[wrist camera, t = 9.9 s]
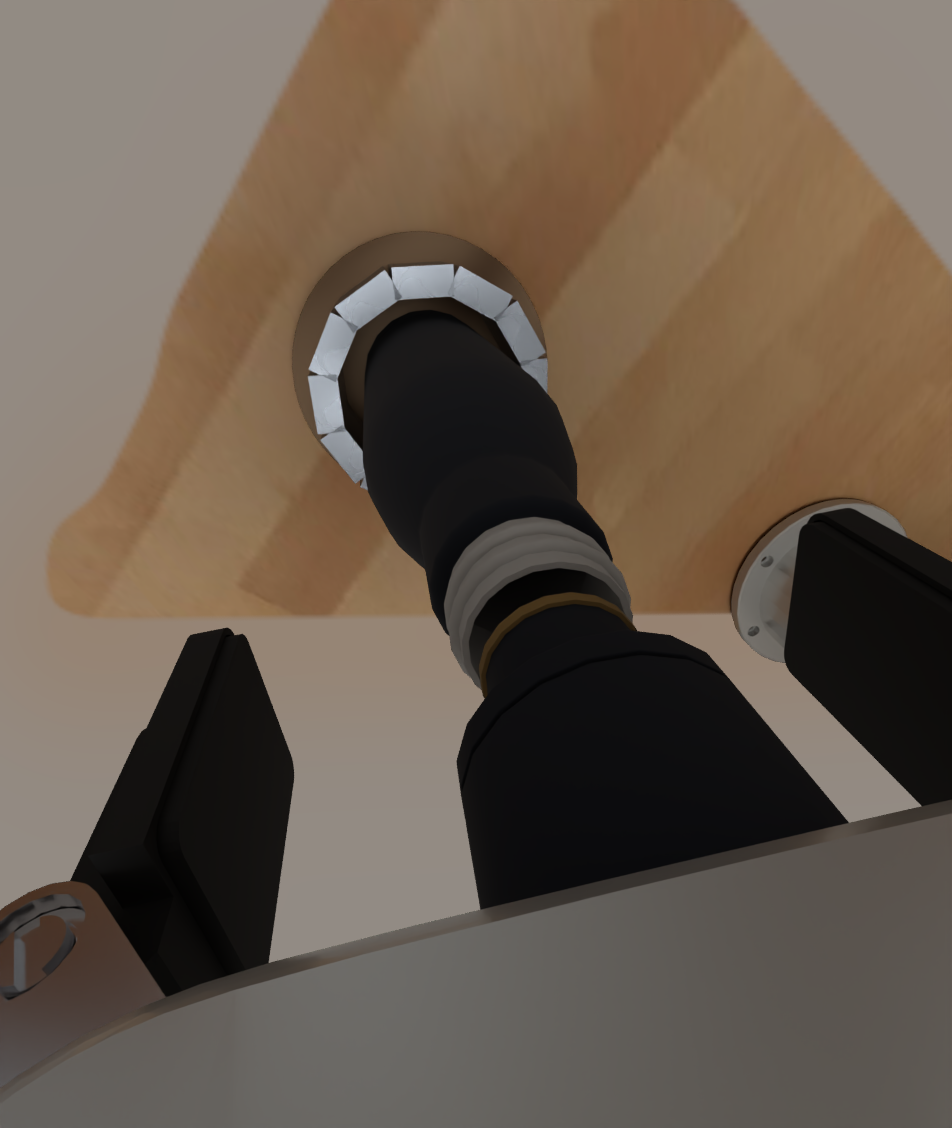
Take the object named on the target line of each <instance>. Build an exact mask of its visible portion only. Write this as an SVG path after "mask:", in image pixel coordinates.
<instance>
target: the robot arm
mask: <svg viewBox="0 0 952 1128" xmlns="http://www.w3.org/2000/svg"><path fill="white" fill-rule="evenodd" d="M731 607H732V617H733V621H734V624H735V627H736V629H737V631H738V632H739V634H740V636H741V637H742V639H743V640H744V641H745V642H746V643H747V644H748V645H749V646H750V647H751V648H752V649H753V650H755V651H756V652H757V653H758V654H760V655H761V656H763V657H765V658H768V659H770V660H773V661H777V662H783V663H786V666H787V668H788V669H789V671H790V672H791V674H792V675H793V676H794V677H795V678H796V679H797V680H798V681H799V682H800V683H801V684H802V685H803V686H804V687H805V688H806V689H807V690H808V691H809V692H810V693H811V694H812V695H813V696H814V697H815V698H816V699H817V700H818V701H819V702H820V703H821V704H822V705H823V706H824V707H825V708H826V709H827V710H828V711H829V712H830V713H831V714H832V715H833V716H834V717H835V718H836V719H837V720H838V721H839V722H840V724H841V725H842V726H843V727H844V728H845V729H846V730H847V731H848V732H849V733H850V734H851V735H852V736H853V737H854V738H855V739H856V740H857V741H858V742H859V743H860V744H862V746H863V747H864V748H865V749H866V750H867V751H868V752H869V753H870V754H871V755H872V756H873V757H874V758H875V759H876V760H877V761H878V762H879V763H880V764H881V765H882V766H883V767H884V768H885V769H886V770H887V771H888V772H889V773H890V774H891V775H892V776H893V777H894V778H895V779H896V780H897V781H898V782H899V783H900V784H901V785H902V786H903V787H904V788H905V789H906V790H907V791H908V792H909V793H910V794H911V795H912V796H913V797H914V798H915V800H916V801H917V802H919V803H920V804H921V807H917V808H913V809H908V810H904V811H900V812H895V813H891V814H886V815H882V816H878V817H873V818H869V819H864V820H860V821H856V822H851V823H847V824H842V825H838V826H834V827H829V828H825V829H821V830H816V831H812V832H808V833H804V834H799V835H795V836H791V837H786V838H782V839H778V840H773V841H769V842H765V843H761V844H756V845H752V846H748V847H743V848H739V849H735V850H731V851H726V852H722V853H718V854H713V855H709V856H705V857H701V858H696V859H692V860H688V861H684V862H679V863H675V864H671V865H667V866H662V867H658V868H654V869H650V870H645V871H641V872H637V873H632V874H628V875H624V876H620V877H615V878H611V879H607V880H603V881H599V882H594V883H590V884H586V885H582V886H578V887H574V888H569V889H565V890H561V891H557V892H553V893H549V894H544V895H540V896H536V897H532V898H528V899H523V900H519V901H515V902H511V903H507V904H503V905H498V906H494V907H490V908H486V909H482V910H478V911H473V912H469V913H465V914H461V915H457V916H453V917H449V918H444V919H440V920H436V921H432V922H428V923H424V924H419V925H415V926H411V927H407V928H403V929H399V930H395V931H391V932H388V933H383V934H380V935H376V936H372V937H368V938H364V939H361V940H356V941H353V942H348V943H345V944H341V945H337V946H333V947H329V948H325V949H321V950H317V951H314V952H310V953H306V954H302V955H298V956H294V957H290V958H286V959H283V960H279V961H275V962H271V963H269V955H270V948H271V941H272V934H273V927H274V919H275V912H276V904H277V898H278V891H279V883H280V876H281V869H282V861H283V855H284V847H285V840H286V833H287V826H288V819H289V811H290V804H291V797H292V790H293V783H294V767H293V761H292V757H291V754H290V751H289V749H288V746H287V743H286V741H285V738H284V735H283V733H282V730H281V727H280V725H279V722H278V719H277V717H276V714H275V711H274V709H273V706H272V704H271V701H270V698H269V695H268V693H267V690H266V687H265V685H264V682H263V679H262V677H261V674H260V671H259V669H258V666H257V663H256V661H255V658H254V655H253V653H252V650H251V648H250V645H249V642H248V640H247V638H246V637H245V635H243V634H240V635H234V633H233V632H232V631H231V629H229V628H223V629H218V630H213V631H208V632H203V633H197V634H193V635H190V636H189V638H188V639H187V641H186V643H185V645H184V648H183V650H182V652H181V654H180V656H179V659H178V661H177V663H176V665H175V667H174V669H173V672H172V674H171V676H170V678H169V680H168V682H167V685H166V687H165V689H164V691H163V693H162V695H161V698H160V700H159V702H158V704H157V706H156V709H155V711H154V713H153V715H152V717H151V719H150V722H149V724H148V726H147V728H146V729H144V730H143V731H142V732H141V733H140V735H139V736H138V738H137V739H136V741H135V744H134V746H133V748H132V750H131V752H130V754H129V756H128V758H127V761H126V763H125V765H124V767H123V769H122V772H121V774H120V776H119V778H118V780H117V782H116V784H115V786H114V789H113V790H112V793H111V795H110V797H109V799H108V801H107V803H106V805H105V808H104V810H103V812H102V814H101V816H100V818H99V821H98V822H97V825H96V827H95V829H94V831H93V833H92V835H91V837H90V840H89V842H88V844H87V846H86V848H85V850H84V852H83V855H82V857H81V859H80V861H79V863H78V865H77V867H76V869H75V872H74V874H73V876H72V878H71V880H70V881H66V882H59V883H53V884H49V885H46V886H44V887H41V888H39V889H36V890H33V891H31V892H28V893H27V894H25V895H23V896H22V897H20V898H18V899H17V900H15V901H13V902H11V903H10V904H8V905H6V906H5V907H4V908H2V909H1V910H0V1128H952V562H951V561H949V560H947V559H945V558H943V557H941V556H940V555H938V554H936V553H934V552H932V551H930V550H929V549H927V548H925V547H923V546H921V545H919V544H918V543H916V542H914V541H912V540H910V539H908V538H907V535H906V532H905V530H904V528H903V527H902V525H901V524H900V523H899V521H898V520H897V519H896V518H895V517H893V516H892V515H891V514H890V513H888V512H887V511H885V510H883V509H881V508H879V507H877V506H875V505H873V504H871V503H868V502H864V501H861V500H856V499H837V500H830V501H824V502H821V503H818V504H815V505H812V506H809V507H806V508H804V509H802V510H800V511H798V512H796V513H794V514H793V515H791V516H789V517H788V518H786V519H785V520H783V521H782V522H780V523H779V524H778V525H776V526H775V527H774V528H772V529H771V530H770V531H769V532H768V533H767V534H766V535H765V536H764V537H763V538H762V539H761V540H760V541H759V542H758V543H757V545H756V546H755V547H754V549H753V550H752V551H751V552H750V554H749V555H748V556H747V558H746V560H745V562H744V563H743V565H742V567H741V569H740V571H739V573H738V576H737V579H736V581H735V584H734V588H733V594H732V600H731Z"/></svg>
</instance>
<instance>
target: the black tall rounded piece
mask: <svg viewBox="0 0 952 1128" xmlns="http://www.w3.org/2000/svg"><path fill="white" fill-rule="evenodd" d="M363 466H364V472H365V477H366V483H367V489H368V493H369V495H370V497H371V499H372V501H373V503H374V505H375V507H376V509H377V510H378V512H379V514H380V516H381V518H382V519H383V521H384V523H385V525H386V527H387V528H388V530H389V532H390V534H391V535H392V536H393V538H394V539H395V541H396V542H397V544H398V545H399V547H401V548H402V549H403V550H404V551H405V552H406V553H407V554H408V555H409V556H411V557H412V558H413V559H414V560H415V561H416V562H417V563H418V564H419V565H420V566H422V567H423V568H424V569H425V571H426V576H427V582H428V588H429V593H430V599H431V605H432V609H433V611H434V613H435V615H436V617H437V618H438V620H439V622H440V624H441V625H442V627H443V629H444V631H445V633H446V634H448V635H449V636H450V643H451V650H452V652H453V654H454V656H455V657H456V659H457V661H458V663H459V665H460V666H461V668H462V670H463V671H464V673H466V674H467V675H468V676H469V677H471V678H472V680H473V682H474V684H475V685H476V686H477V687H479V688H480V689H481V690H482V693H483V696H484V698H485V699H484V701H483V702H482V704H481V705H480V707H479V708H478V709H477V711H476V712H475V714H474V715H473V716H472V718H471V719H470V721H469V722H468V723H467V726H466V730H465V733H464V736H463V740H462V744H461V747H460V751H459V754H458V758H457V769H458V776H459V783H460V790H461V797H462V803H463V809H464V814H465V819H466V827H467V833H468V838H469V844H470V850H471V856H472V862H473V868H474V874H475V880H476V886H477V892H478V898H479V904H480V909H481V910H482V909H486V908H490V907H494V906H498V905H503V904H507V903H511V902H515V901H519V900H523V899H528V898H532V897H536V896H540V895H544V894H549V893H553V892H557V891H561V890H565V889H569V888H574V887H578V886H582V885H586V884H590V883H594V882H599V881H603V880H607V879H611V878H615V877H620V876H624V875H628V874H632V873H637V872H641V871H645V870H650V869H654V868H658V867H662V866H667V865H671V864H675V863H679V862H684V861H688V860H692V859H696V858H701V857H705V856H709V855H713V854H718V853H722V852H726V851H731V850H735V849H739V848H743V847H748V846H752V845H756V844H761V843H765V842H769V841H773V840H778V839H782V838H786V837H791V836H795V835H799V834H804V833H808V832H812V831H816V830H821V829H825V828H829V827H834V826H838V825H842V824H847V823H849V822H848V821H847V820H846V819H845V817H844V816H843V815H842V814H841V813H840V811H839V810H838V809H837V808H836V807H835V805H834V804H833V803H832V802H831V801H830V800H829V798H828V797H827V796H826V795H825V794H824V792H823V791H822V790H821V789H820V787H819V786H818V785H817V784H816V783H815V781H814V780H813V779H812V778H811V777H810V775H809V774H808V773H807V772H806V771H805V769H804V768H803V767H802V766H801V765H800V764H799V762H798V761H797V760H796V759H795V757H794V756H793V755H792V754H791V753H790V751H789V750H788V749H787V748H786V747H785V746H784V744H783V743H782V742H781V741H780V739H779V738H778V737H777V736H776V735H775V733H774V732H773V731H772V730H771V728H770V727H769V726H768V725H767V724H766V722H765V721H764V720H763V719H762V718H761V716H760V715H759V714H758V713H757V712H756V710H755V709H754V708H753V707H752V706H751V704H750V703H749V702H748V701H747V700H746V699H745V697H744V696H743V695H742V694H741V693H740V691H739V690H738V689H737V688H736V687H735V685H734V684H733V683H732V682H731V681H730V679H729V678H728V677H727V676H726V675H725V673H723V671H722V670H721V669H720V668H719V666H718V665H717V664H716V663H715V662H714V661H713V660H712V658H711V657H710V656H709V655H708V654H707V653H706V652H704V651H702V650H700V649H698V648H696V647H694V646H692V645H690V644H687V643H685V642H683V641H681V640H679V639H677V638H675V637H673V636H671V635H665V634H656V633H647V632H639V631H637V630H636V628H635V627H634V625H633V624H632V618H633V615H632V612H631V609H630V601H631V597H630V595H629V592H628V589H627V586H626V583H625V580H624V577H623V575H622V573H621V572H620V571H619V570H618V568H617V567H616V566H615V565H614V564H613V563H612V562H613V558H612V555H611V552H610V549H609V546H608V544H607V541H606V538H605V535H604V532H603V531H602V530H601V528H600V527H599V526H598V525H597V524H596V522H595V521H594V520H593V519H592V517H591V516H590V515H589V514H588V513H587V511H586V510H585V509H584V508H583V507H582V505H581V504H580V503H579V502H578V500H577V463H576V459H575V456H574V452H573V448H572V445H571V442H570V440H569V437H568V434H567V431H566V428H565V426H564V423H563V420H562V417H561V415H560V413H559V410H558V408H557V405H556V404H555V403H554V401H553V400H552V399H551V398H550V396H549V395H548V394H547V393H546V391H545V390H544V389H543V388H542V386H541V385H540V384H539V383H538V381H537V380H536V379H535V378H533V377H532V376H531V375H530V374H528V373H527V372H526V371H525V370H523V369H522V368H521V367H520V366H518V365H517V364H516V363H515V362H513V361H512V360H511V359H510V358H508V357H507V356H506V355H505V354H503V353H502V352H501V351H500V350H498V349H497V348H496V347H495V346H493V345H492V344H491V343H490V342H488V341H487V340H486V339H485V338H483V337H482V336H481V335H480V334H478V333H477V332H476V331H475V330H473V329H472V328H471V327H470V326H468V325H467V324H465V323H464V322H462V321H461V320H459V319H457V318H456V317H454V316H453V315H451V314H447V313H443V312H439V311H434V310H423V311H413V312H409V313H407V314H405V315H403V316H401V317H398V318H396V319H394V320H392V321H391V322H390V323H389V324H388V325H387V326H386V327H385V328H384V329H383V330H382V331H381V332H380V333H379V334H378V335H377V336H376V338H375V340H374V342H373V344H372V346H371V348H370V350H369V352H368V355H367V362H366V369H365V383H364V423H363Z"/></svg>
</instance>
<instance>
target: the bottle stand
mask: <svg viewBox="0 0 952 1128" xmlns="http://www.w3.org/2000/svg"><path fill="white" fill-rule="evenodd" d="M423 310H434V311H439V312H443V313H447V314H451V315H453V316H454V317H456V318H457V319H459V320H461V321H462V322H464V323H465V324H467V325H468V326H470V327H471V328H472V329H473V330H475V331H476V332H477V333H478V334H480V335H481V336H482V337H483V338H485V339H486V340H487V341H488V342H490V343H491V344H492V345H493V346H495V347H496V348H497V349H498V350H500V351H501V352H502V353H503V354H505V355H506V356H507V357H508V358H510V359H511V360H512V361H513V362H515V363H516V364H517V365H518V366H520V367H521V368H522V369H523V370H525V371H526V372H527V373H528V374H530V375H531V376H532V377H533V378H535V379H536V380H537V381H538V383H539V384H540V385H541V386H542V388H543V389H544V390H545V391H546V393H547V354H546V345H545V340H544V334H543V330H542V327H541V324H540V321H539V317H538V315H537V313H536V310H535V308H534V306H533V304H532V302H531V300H530V298H529V297H528V295H527V293H526V292H525V290H524V289H523V287H522V285H521V284H520V283H519V282H518V281H517V279H516V278H515V277H514V276H513V275H512V273H511V272H510V271H509V270H508V269H507V268H506V267H505V266H503V265H502V264H501V263H500V262H499V261H498V260H497V259H496V258H494V257H493V256H491V255H490V254H488V253H487V252H485V251H484V250H482V249H481V248H479V247H477V246H475V245H473V244H471V243H469V242H467V241H464V240H461V239H458V238H455V237H452V236H449V235H444V234H438V233H433V232H405V233H397V234H391V235H388V236H384V237H381V238H377V239H374V240H372V241H370V242H368V243H366V244H363V245H361V246H359V247H357V248H356V249H354V250H353V251H351V252H350V253H348V254H346V255H345V256H343V257H342V258H341V259H340V260H339V261H338V262H337V263H335V264H334V265H333V266H332V267H331V268H330V269H329V270H328V271H327V272H326V273H325V275H324V276H323V277H322V278H321V279H320V280H319V282H318V283H317V284H316V286H315V288H314V289H313V291H312V292H311V294H310V296H309V297H308V299H307V301H306V303H305V306H304V308H303V310H302V312H301V315H300V318H299V321H298V325H297V328H296V331H295V338H294V344H293V356H292V370H293V378H294V386H295V390H296V394H297V398H298V402H299V405H300V408H301V410H302V413H303V415H304V418H305V420H306V422H307V424H308V425H309V427H310V429H311V431H312V433H313V434H314V436H315V437H316V439H317V440H318V441H319V443H320V444H321V446H322V447H323V448H324V449H325V450H326V451H327V452H328V453H329V455H330V456H331V457H332V458H333V459H334V460H335V461H337V462H338V463H339V464H340V465H341V466H342V468H343V469H344V470H345V471H346V473H347V474H348V475H349V476H350V478H351V479H352V480H353V481H354V483H357V482H358V481H360V487H361V488H364V489H366V490H368V489H367V483H366V477H365V472H364V466H363V423H364V383H365V369H366V362H367V355H368V352H369V350H370V348H371V346H372V344H373V342H374V340H375V338H376V336H377V335H378V334H379V333H380V332H381V331H382V330H383V329H384V328H385V327H386V326H387V325H388V324H389V323H390V322H391V321H392V320H394V319H396V318H398V317H401V316H403V315H405V314H407V313H409V312H413V311H423Z"/></svg>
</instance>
